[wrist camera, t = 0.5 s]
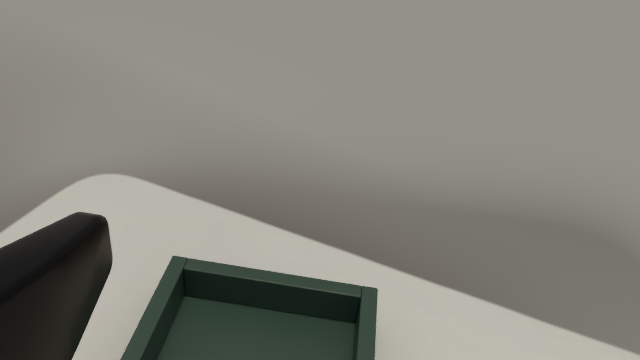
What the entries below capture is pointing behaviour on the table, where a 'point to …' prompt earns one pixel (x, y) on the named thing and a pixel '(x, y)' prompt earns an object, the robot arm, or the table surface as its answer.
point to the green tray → (253, 316)
